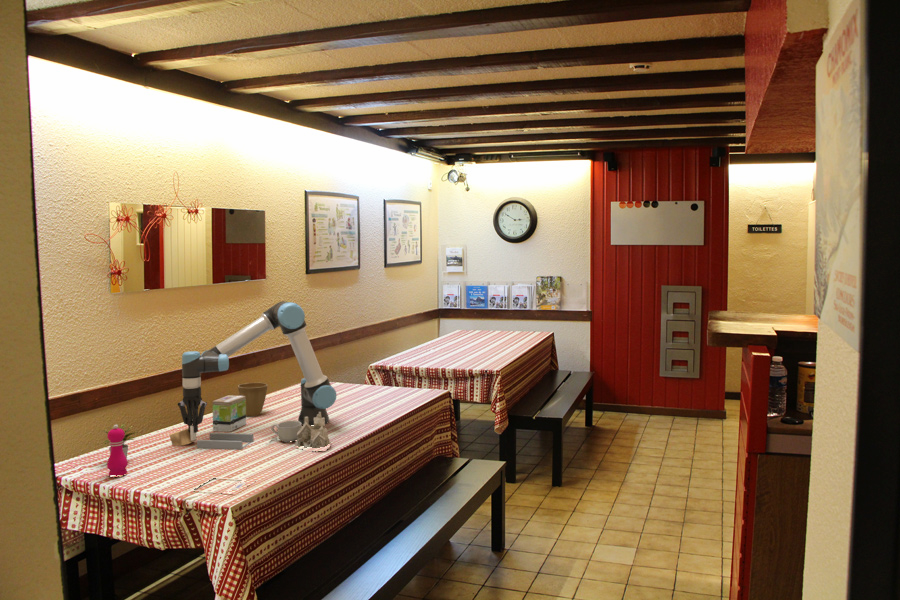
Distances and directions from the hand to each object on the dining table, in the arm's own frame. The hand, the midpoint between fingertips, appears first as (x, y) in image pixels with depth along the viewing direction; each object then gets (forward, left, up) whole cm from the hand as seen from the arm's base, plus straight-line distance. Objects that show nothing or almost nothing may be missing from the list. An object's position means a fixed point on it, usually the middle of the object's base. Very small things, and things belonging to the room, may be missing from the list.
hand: (193, 439), depth 300 cm
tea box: (-2, -33, -4) cm, 33 cm away
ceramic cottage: (-53, -5, -4) cm, 53 cm away
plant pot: (-3, -59, -3) cm, 59 cm away
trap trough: (-15, -1, -3) cm, 15 cm away
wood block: (+1, 0, +2) cm, 2 cm away
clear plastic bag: (-36, +47, -4) cm, 60 cm away
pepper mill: (+10, +39, -3) cm, 41 cm away
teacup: (-38, -14, -3) cm, 40 cm away
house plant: (+20, +24, -3) cm, 32 cm away
